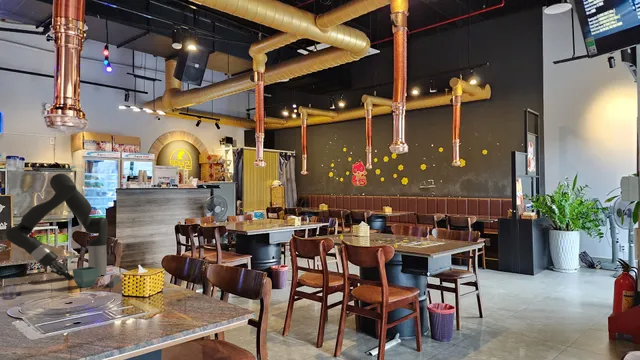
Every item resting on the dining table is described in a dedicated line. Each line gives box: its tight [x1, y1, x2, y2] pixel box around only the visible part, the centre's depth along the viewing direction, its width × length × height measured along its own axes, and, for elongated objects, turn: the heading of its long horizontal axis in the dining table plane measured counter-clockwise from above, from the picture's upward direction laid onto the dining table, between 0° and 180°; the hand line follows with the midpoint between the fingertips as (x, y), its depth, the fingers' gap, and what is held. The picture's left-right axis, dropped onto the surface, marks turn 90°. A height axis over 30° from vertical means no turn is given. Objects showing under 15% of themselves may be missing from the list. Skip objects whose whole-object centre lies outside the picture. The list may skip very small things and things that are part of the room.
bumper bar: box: [108, 274, 121, 288], centre depth 212 cm, size 2×16×3 cm, turn 16°
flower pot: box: [72, 266, 99, 288], centre depth 209 cm, size 9×9×9 cm
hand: (71, 279), depth 206 cm, fingers closed
